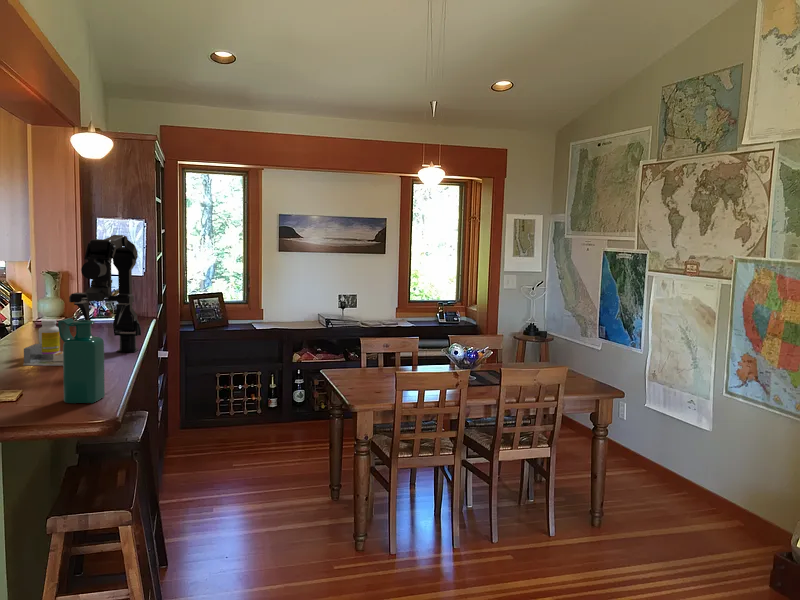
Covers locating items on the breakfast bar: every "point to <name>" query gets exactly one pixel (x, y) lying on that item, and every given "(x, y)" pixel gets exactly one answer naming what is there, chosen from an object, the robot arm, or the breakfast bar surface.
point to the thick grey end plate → (58, 356)
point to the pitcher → (82, 362)
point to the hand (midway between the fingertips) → (102, 323)
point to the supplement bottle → (49, 337)
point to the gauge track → (39, 357)
